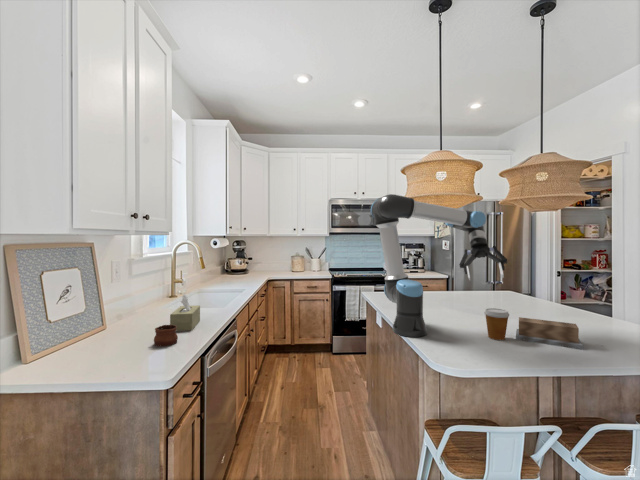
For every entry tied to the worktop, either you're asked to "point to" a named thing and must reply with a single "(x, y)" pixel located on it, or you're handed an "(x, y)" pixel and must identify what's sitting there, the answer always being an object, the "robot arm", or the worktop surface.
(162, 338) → the ceramic pot
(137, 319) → the worktop surface
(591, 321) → the worktop surface
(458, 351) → the worktop surface
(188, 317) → the tissue box
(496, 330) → the disposable coffee cup
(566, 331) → the stand
